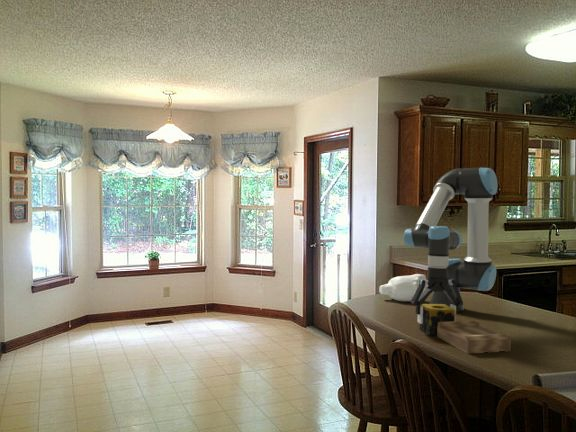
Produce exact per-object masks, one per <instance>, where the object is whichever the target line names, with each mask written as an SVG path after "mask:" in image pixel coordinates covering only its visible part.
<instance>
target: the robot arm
mask: <svg viewBox="0 0 576 432" xmlns="http://www.w3.org/2000/svg"><path fill="white" fill-rule="evenodd" d="M498 188H499V185H498V179H497V175H496V173H495V171H494V169H492V168H490V167H469V168H467V167H465V168H454V169H452V170H450V171H447V172H446V173H444V175H442V176H441V177H440V178H439V179H438V180H437V181H436V183H435V185H434V186H433V189H432V190H433V191H432V195H431V197H430V198H429V200H428V202H427V204H426V205H425V208H423V209H424V210H423V211H422V212H421V214H420V217H419V218H418V220H417V222H416V223H415V225H414V227H413V228H412V227H411V228H406V229H405V230H404V233H403V237H402V238H403V243H404V244H405V246H407V247H411V248H418V249H419V248H420V249H421V248H423V249H427V251H428V254H427V266H428V267H427V278H426V280H422V279H420V281H419V286H418V288H417V290H416V292H415V294H414V296H413V298H412V300H411V302H410V303H411V304H412V305H414V306H415V314H416V315H417V320H416V321H417V323H418V324H419V325H420V324H423V306H421V305H422V304H424V302H425V301H426V300H427V299H428V297H429V296H430V295H431V294H432V296H431V299H430V301H429V304H445V305H447V306H449V307H451V308H453V309H455V320H454V321H457V319H456V318H457V317H456V316H457V314H458V313H459V312H463V311H464V310H465V309H464V308H465V307H464V306H465V305H464V301H463V299H462V295H461V289H465V290H466V289H468V290H474V291H475V290H476V291H479V292H480V291H483V292H486V291H490V290H491V289H492V288H493V286H494V284H495V282H496V277H497V267H496V265H495V264H493V263H492V260H493V259H491V258H490V257H489V210H490V209H489V203H490V201H492V200H493V195H496V194H497V192H498ZM455 195H456V196H457V195H464V197H463V198H464V200H465V201H466V202H467V251H466V252H467V255H466V256H465V257H464V258H463V261H462V259H461V258H449V256H450V254H449V253H450V251H453V250H456V249H458V248H459V247H461V245H462V243H463V238H462V235H461V233H460V232H459V231H457V230H454V229H453V230H452V229H451V230H450V228H449V226H443V225H439V226H438V222H439V220H440V218H441V217H442V215H443V212H444V211H445V210H446V207H447V205H448V204H449V201H451V200H452V199H453V198H454V197H455ZM426 284H428V287H426V288H425V289H426V290H425V291H424V293H423V294H422V292H423V290H424V287H425V286H426ZM421 294H422V295H421Z"/></svg>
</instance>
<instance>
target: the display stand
mask: <svg viewBox="0 0 576 432" xmlns="http://www.w3.org/2000/svg"><path fill="white" fill-rule="evenodd" d="M511 335H512V334H510V333H506V332H505V333H497V332H495V331H493V330H491V329H489V328H486V327H483V326H481V325H480V321H479V320H478V319H477V320H475V319H474V320H456V321H450V322H438V326H437V336H436V337H437V338H439V339H440V340H442V341H444V342H446V343H447V344H449V345H451V346H453V347H454V346H455V348H456V349H458V350H460V351H462V352H463V353H466V354H469V355H470V354H483V353H484V352H488V353H500V352H499V351H505V352H511V349H512V347H511V346H512V345H511V344H512V339H511ZM484 354H485V353H484Z"/></svg>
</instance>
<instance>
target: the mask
mask: <svg viewBox="0 0 576 432" xmlns="http://www.w3.org/2000/svg"><path fill="white" fill-rule="evenodd" d="M420 279H422V280H427V276H426V275H425V274H421V273H414V274H411V275H400V276H399V275H398V276H395V277H391V279H389V280H388V283H385V284H382V285H379V289H378V292H379V294H380V295H383V296H384V295H385V296H388V297H390V298H391V299H393V301H397V302H410V303H411V300H412V298H413V296H414V294H415V292H416V290H417V288H418V286H419V281H420ZM427 287H428V284H426V286H425V287H424V290H423V292H422V294H423V293H424V291H425V290H426V288H427ZM422 294H421V295H422Z"/></svg>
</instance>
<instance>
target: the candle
mask: <svg viewBox="0 0 576 432" xmlns="http://www.w3.org/2000/svg"><path fill="white" fill-rule="evenodd" d="M421 306H423V324H420V323H419V329H420V330H421V331H422V332H423V333H425V334H427V336H430V337H432V336H433V337H437V326H438V322H450V321H454V320H455V309H453V308H451V307H449V306H447V305H445V304H430V303H423V304H422V305H421Z"/></svg>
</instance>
